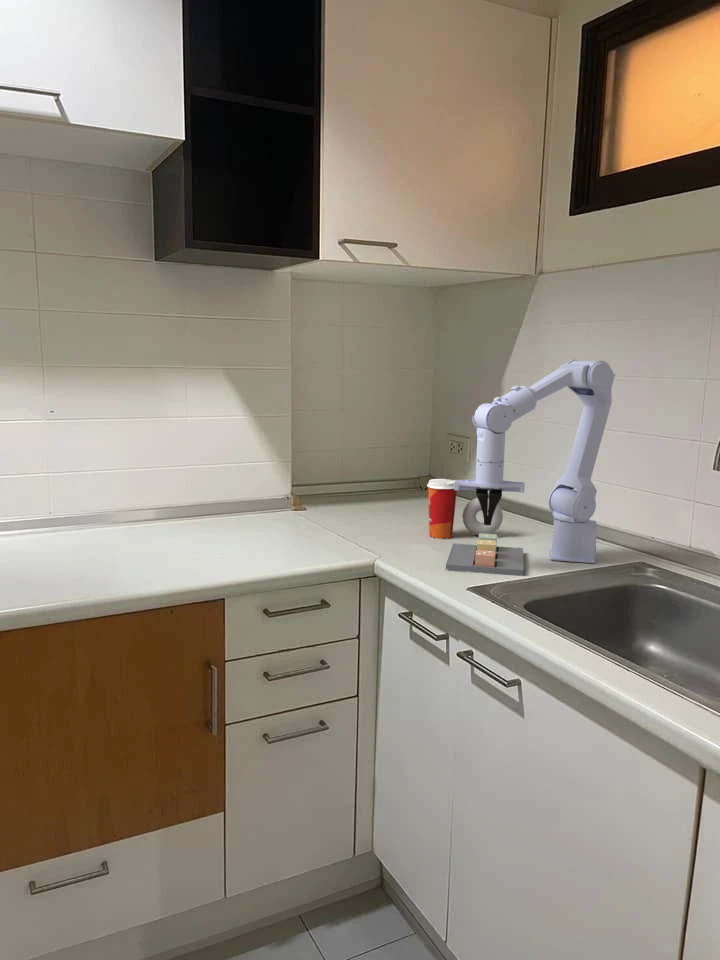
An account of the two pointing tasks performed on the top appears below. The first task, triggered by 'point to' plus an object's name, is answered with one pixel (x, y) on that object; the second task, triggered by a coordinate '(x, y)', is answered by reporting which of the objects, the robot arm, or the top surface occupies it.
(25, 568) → the top surface
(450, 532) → the paper cup
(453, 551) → the grey slotted tray
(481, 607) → the top surface
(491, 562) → the tile three pips
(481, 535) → the tile one pip
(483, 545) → the tile two pips
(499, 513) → the donut
